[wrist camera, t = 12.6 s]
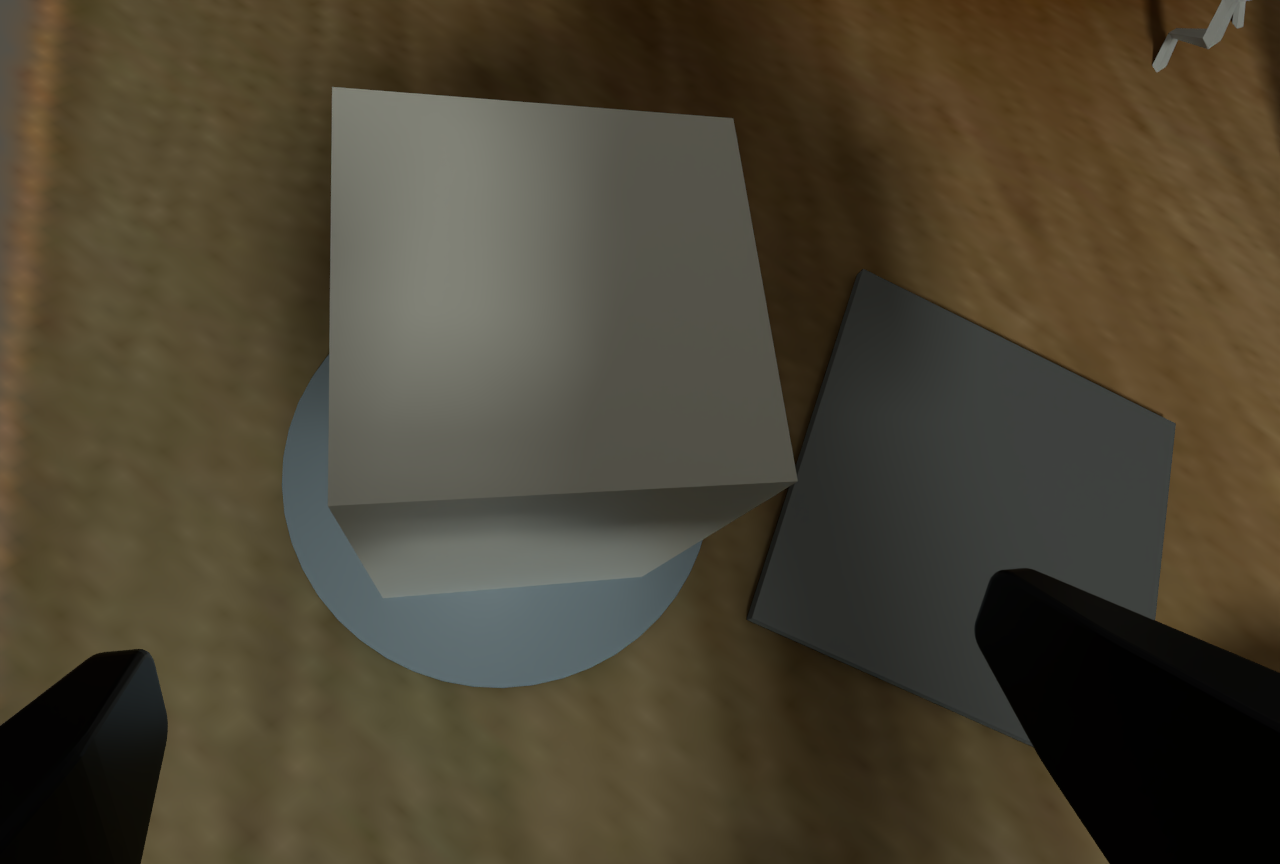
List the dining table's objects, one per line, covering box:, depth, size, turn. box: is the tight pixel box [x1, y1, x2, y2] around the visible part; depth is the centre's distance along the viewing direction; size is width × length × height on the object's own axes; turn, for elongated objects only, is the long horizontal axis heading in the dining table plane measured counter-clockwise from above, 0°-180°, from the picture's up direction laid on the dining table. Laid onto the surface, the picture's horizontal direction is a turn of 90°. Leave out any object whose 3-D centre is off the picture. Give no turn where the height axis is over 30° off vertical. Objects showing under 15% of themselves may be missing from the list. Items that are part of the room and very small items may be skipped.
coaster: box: [282, 355, 702, 688], centre depth 20 cm, size 11×11×1 cm
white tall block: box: [328, 87, 798, 598], centre depth 16 cm, size 6×6×10 cm
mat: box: [747, 269, 1176, 747], centre depth 23 cm, size 12×12×1 cm
